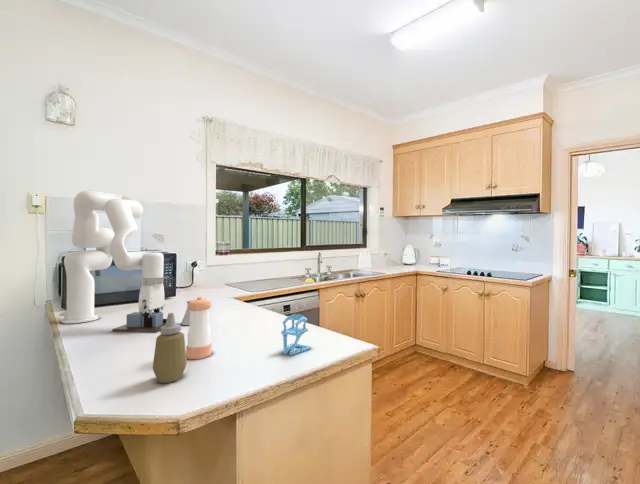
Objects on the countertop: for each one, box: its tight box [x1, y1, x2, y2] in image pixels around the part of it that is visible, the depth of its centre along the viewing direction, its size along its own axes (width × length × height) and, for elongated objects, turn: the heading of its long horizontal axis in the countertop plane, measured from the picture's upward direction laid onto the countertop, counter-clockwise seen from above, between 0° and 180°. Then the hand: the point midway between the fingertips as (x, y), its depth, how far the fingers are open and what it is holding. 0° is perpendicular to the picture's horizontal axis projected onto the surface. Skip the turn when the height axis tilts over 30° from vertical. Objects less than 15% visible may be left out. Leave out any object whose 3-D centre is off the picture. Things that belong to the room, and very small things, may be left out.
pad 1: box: [126, 311, 149, 327], centre depth 142 cm, size 6×5×5 cm
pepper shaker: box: [185, 296, 212, 360], centre depth 110 cm, size 7×7×19 cm
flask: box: [180, 299, 193, 326], centre depth 149 cm, size 7×7×10 cm
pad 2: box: [142, 311, 164, 327], centre depth 141 cm, size 6×5×5 cm
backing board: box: [111, 318, 167, 333], centre depth 142 cm, size 18×12×2 cm, turn 88°
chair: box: [280, 313, 311, 356], centre depth 116 cm, size 8×8×12 cm
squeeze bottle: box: [152, 312, 188, 384], centre depth 92 cm, size 8×8×18 cm
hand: (152, 324), depth 141 cm, fingers closed on pad 2, 4 cm apart
